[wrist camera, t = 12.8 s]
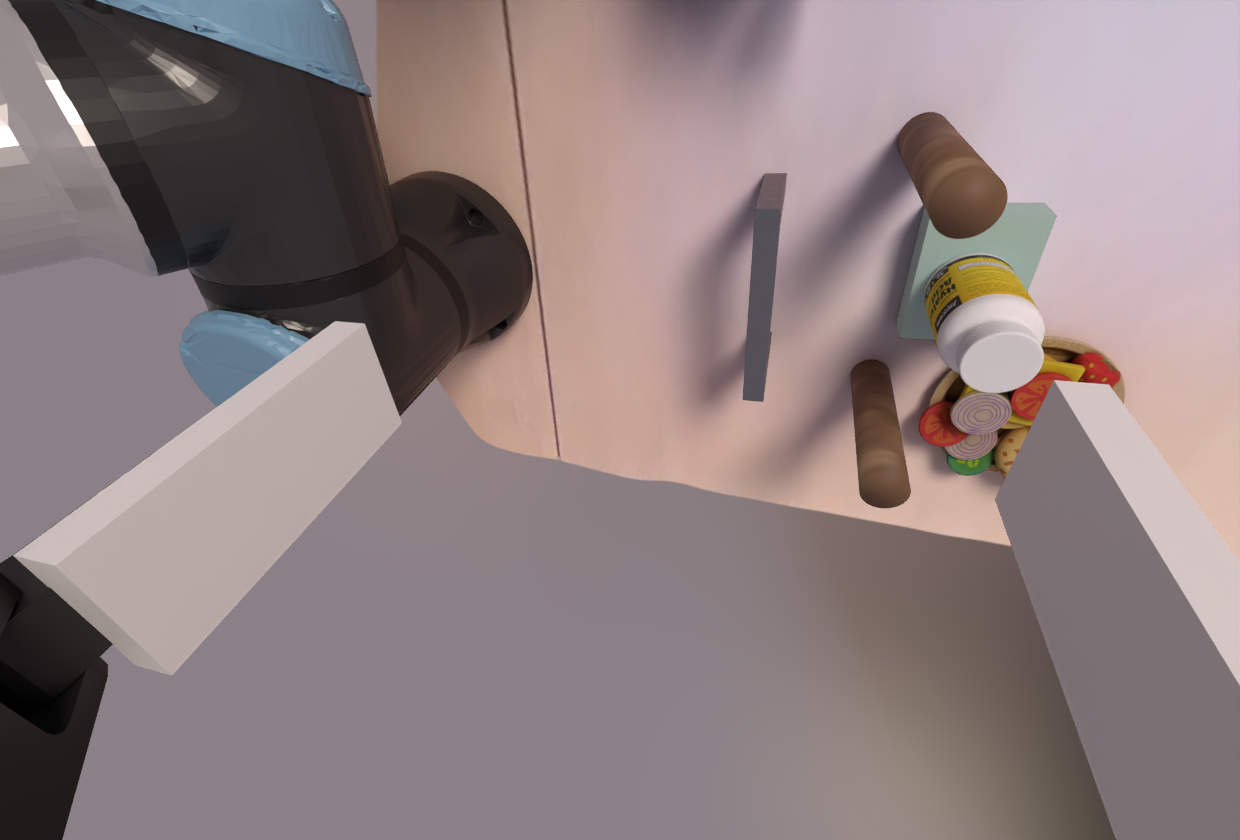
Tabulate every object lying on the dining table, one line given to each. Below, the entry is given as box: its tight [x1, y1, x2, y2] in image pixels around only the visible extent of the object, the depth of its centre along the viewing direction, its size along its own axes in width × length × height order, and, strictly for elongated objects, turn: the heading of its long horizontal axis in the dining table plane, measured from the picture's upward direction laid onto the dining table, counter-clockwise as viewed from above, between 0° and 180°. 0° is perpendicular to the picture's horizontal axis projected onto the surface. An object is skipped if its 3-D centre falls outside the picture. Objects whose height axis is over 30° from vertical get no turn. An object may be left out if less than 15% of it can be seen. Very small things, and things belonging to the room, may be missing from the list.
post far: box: [850, 360, 911, 508], centre depth 41 cm, size 3×3×14 cm
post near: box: [898, 112, 1007, 239], centre depth 31 cm, size 3×3×14 cm
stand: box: [896, 203, 1057, 340], centre depth 39 cm, size 7×9×2 cm
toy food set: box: [919, 336, 1125, 478], centre depth 44 cm, size 13×13×3 cm
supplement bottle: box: [924, 253, 1045, 393], centre depth 34 cm, size 5×5×10 cm
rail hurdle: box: [743, 173, 787, 402], centre depth 41 cm, size 2×14×8 cm, turn 5°
